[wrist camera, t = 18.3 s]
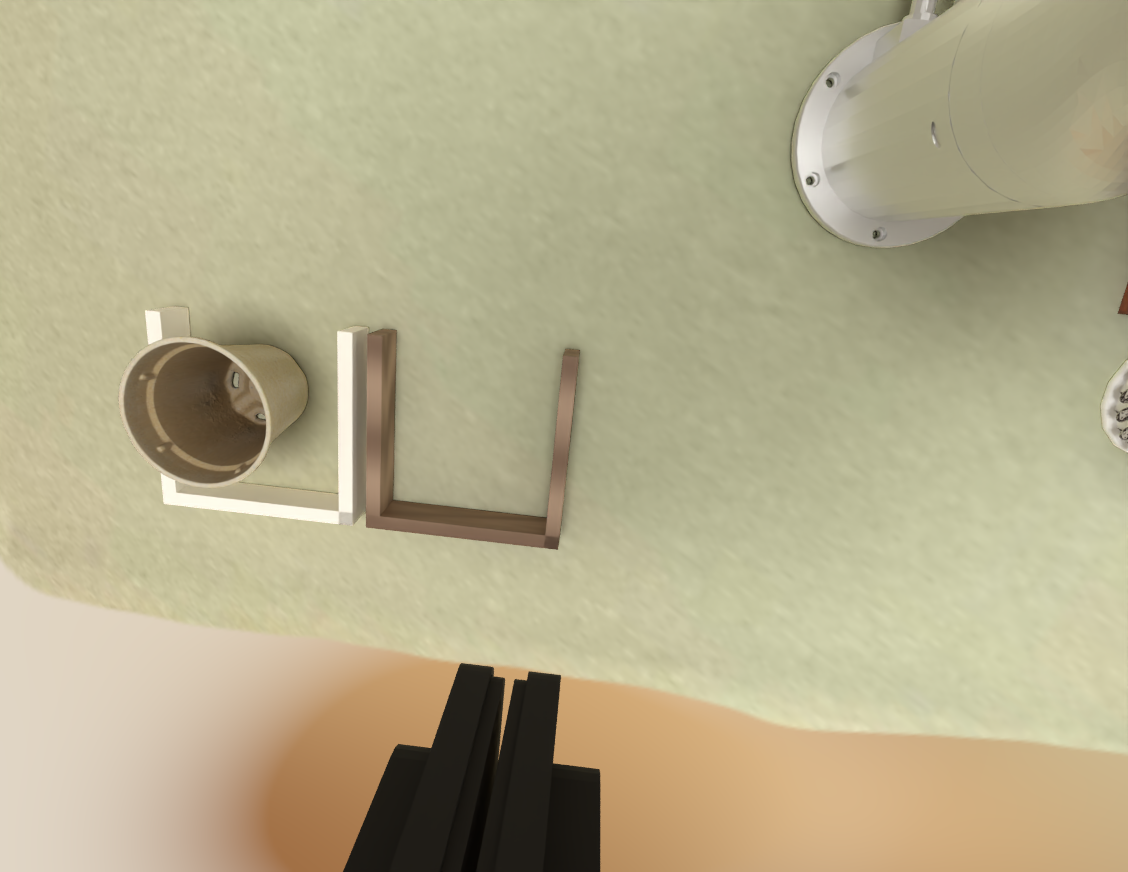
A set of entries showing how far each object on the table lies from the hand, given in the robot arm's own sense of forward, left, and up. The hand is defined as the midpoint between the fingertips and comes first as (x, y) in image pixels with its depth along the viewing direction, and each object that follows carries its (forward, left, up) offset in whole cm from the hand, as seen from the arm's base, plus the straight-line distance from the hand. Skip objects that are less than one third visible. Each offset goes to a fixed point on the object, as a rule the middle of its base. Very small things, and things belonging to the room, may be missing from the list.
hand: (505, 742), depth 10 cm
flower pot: (+4, -22, -35) cm, 42 cm away
